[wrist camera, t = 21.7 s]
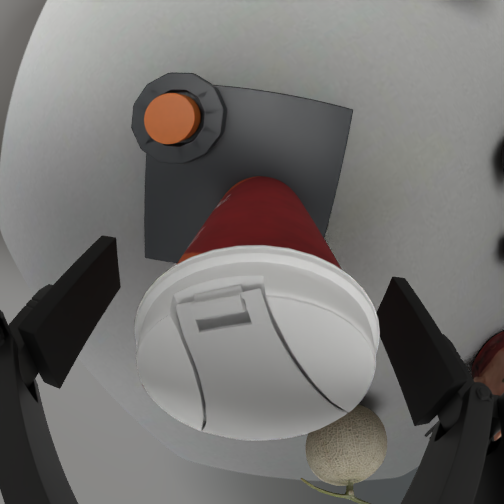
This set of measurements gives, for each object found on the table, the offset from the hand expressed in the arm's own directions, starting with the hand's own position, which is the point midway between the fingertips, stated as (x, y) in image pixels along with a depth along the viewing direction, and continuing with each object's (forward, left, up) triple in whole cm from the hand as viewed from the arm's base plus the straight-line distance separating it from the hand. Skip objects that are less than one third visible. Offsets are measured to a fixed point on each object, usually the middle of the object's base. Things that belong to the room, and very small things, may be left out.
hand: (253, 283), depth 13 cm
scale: (-2, +2, -10) cm, 11 cm away
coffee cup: (0, 0, -9) cm, 9 cm away
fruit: (+15, -26, -11) cm, 32 cm away
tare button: (-6, +6, -8) cm, 12 cm away
